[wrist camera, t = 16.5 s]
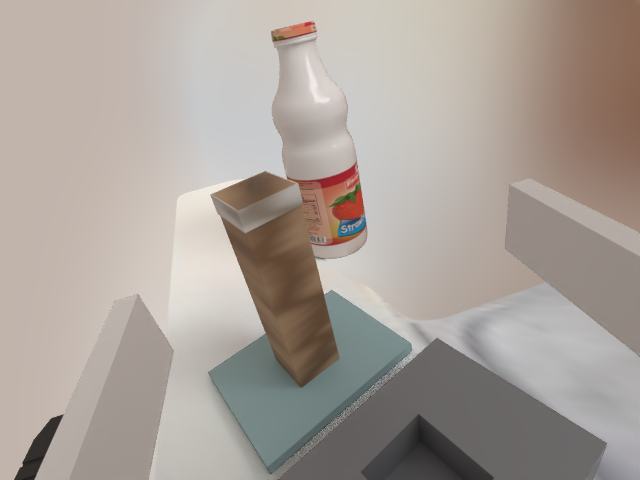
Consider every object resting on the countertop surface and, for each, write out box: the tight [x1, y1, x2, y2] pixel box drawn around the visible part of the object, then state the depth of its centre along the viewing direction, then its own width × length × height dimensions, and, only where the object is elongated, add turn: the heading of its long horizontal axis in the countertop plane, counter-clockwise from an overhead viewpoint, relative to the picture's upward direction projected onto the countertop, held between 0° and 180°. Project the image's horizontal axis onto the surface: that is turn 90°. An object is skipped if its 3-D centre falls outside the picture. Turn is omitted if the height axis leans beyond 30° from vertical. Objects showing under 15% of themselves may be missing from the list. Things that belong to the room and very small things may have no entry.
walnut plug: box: [211, 171, 340, 388], centre depth 30 cm, size 5×5×18 cm
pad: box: [208, 290, 412, 474], centre depth 35 cm, size 16×12×1 cm
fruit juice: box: [271, 21, 367, 259], centre depth 46 cm, size 9×9×28 cm
